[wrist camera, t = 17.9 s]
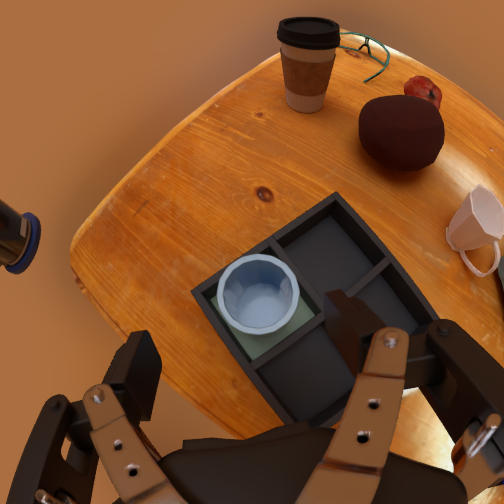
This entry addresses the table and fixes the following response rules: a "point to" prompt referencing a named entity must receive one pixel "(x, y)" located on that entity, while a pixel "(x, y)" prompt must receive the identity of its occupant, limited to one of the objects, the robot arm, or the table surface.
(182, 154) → the table surface
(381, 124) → the dark brown oval ball
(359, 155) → the table surface
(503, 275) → the teapot
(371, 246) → the black divided tray
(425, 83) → the pomegranate
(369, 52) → the sunglasses
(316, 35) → the coffee cup
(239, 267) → the blue cup
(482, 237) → the cup
